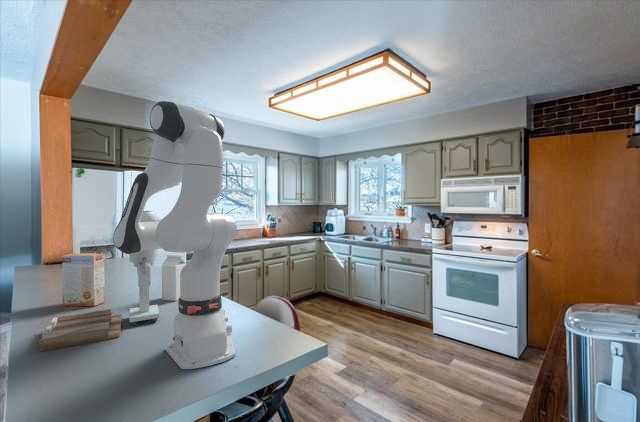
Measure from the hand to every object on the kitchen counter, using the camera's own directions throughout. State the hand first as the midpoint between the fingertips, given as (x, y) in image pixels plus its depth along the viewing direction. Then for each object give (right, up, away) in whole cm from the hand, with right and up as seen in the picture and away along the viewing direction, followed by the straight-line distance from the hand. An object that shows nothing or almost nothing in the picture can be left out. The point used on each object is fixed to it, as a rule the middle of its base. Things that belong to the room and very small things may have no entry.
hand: (144, 294), depth 111 cm
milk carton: (-1, -9, +25) cm, 27 cm away
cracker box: (-34, -9, +17) cm, 39 cm away
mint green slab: (0, -9, 0) cm, 9 cm away
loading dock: (-12, -9, -12) cm, 19 cm away
